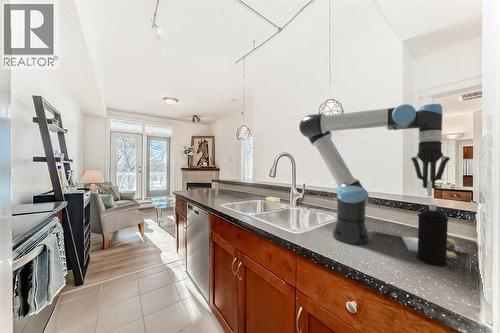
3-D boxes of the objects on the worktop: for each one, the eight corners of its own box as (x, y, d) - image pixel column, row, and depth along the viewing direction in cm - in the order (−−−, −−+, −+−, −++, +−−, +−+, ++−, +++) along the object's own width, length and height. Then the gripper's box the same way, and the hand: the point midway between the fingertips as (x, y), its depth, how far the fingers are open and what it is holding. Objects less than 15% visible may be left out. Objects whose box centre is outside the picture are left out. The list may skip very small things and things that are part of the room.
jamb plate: (409, 250, 82) (409, 248, 82) (401, 238, 95) (401, 236, 95) (432, 254, 79) (432, 252, 78) (421, 241, 92) (421, 238, 92)
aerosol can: (454, 267, 69) (455, 207, 68) (425, 265, 70) (427, 206, 70) (436, 256, 77) (437, 202, 77) (411, 254, 79) (412, 202, 78)
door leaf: (432, 254, 79) (432, 245, 78) (421, 241, 92) (421, 233, 92) (459, 259, 75) (460, 249, 75) (444, 244, 88) (444, 236, 88)
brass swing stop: (450, 245, 84) (450, 236, 84) (455, 249, 80) (455, 239, 80) (418, 241, 88) (418, 232, 88) (422, 245, 84) (422, 235, 84)
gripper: (413, 141, 89) (411, 195, 90) (453, 139, 83) (452, 198, 84) (409, 142, 96) (408, 193, 96) (446, 141, 90) (444, 195, 90)
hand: (428, 195), depth 90 cm, fingers closed
